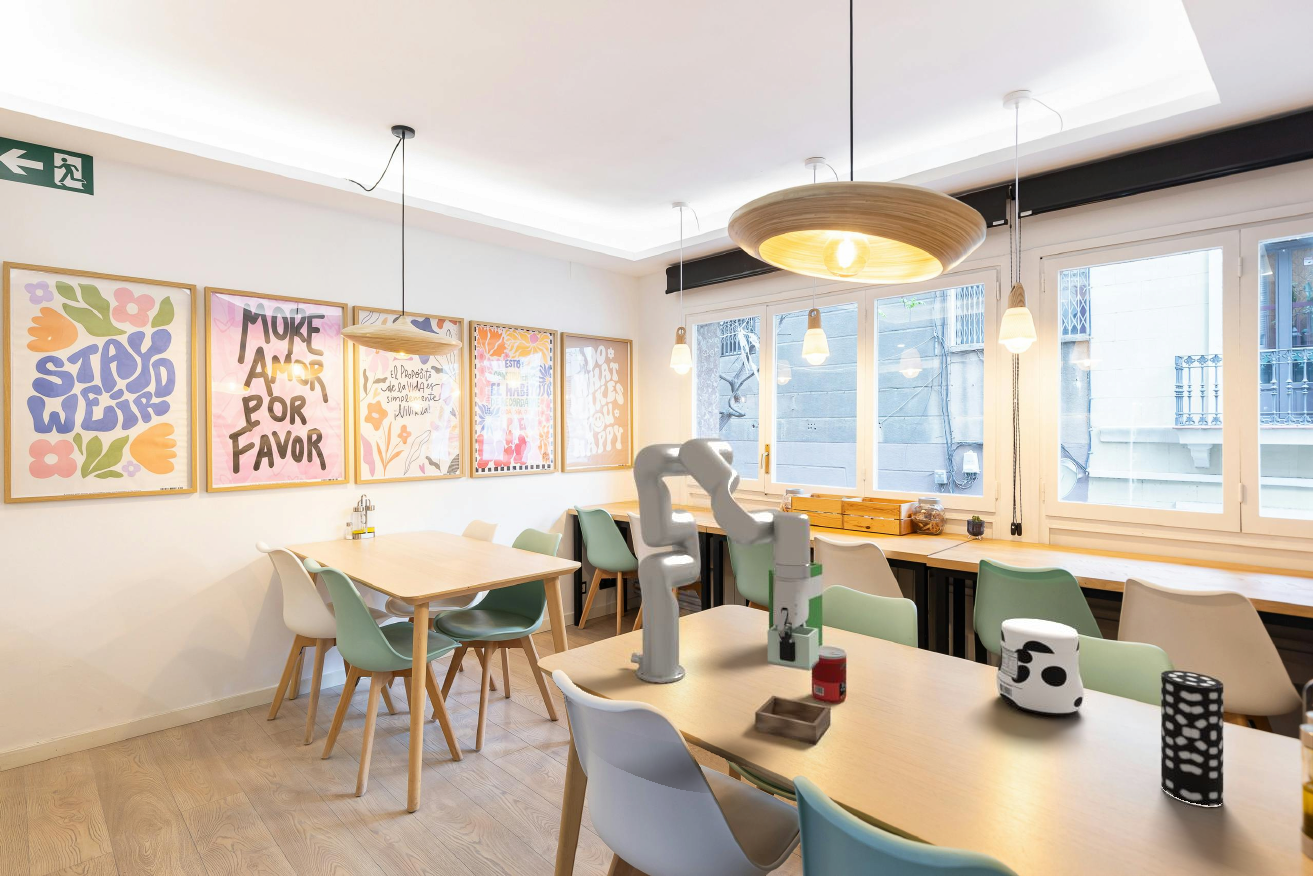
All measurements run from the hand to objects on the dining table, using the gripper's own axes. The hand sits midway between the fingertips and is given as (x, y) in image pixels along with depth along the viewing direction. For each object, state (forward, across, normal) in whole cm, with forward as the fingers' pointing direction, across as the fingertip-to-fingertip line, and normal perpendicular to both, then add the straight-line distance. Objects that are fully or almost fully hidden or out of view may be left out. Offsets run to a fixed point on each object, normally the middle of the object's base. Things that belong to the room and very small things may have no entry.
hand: (793, 654), depth 141 cm
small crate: (+2, 0, 0) cm, 2 cm away
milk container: (+16, -39, +45) cm, 62 cm away
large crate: (+16, 0, 0) cm, 16 cm away
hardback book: (+15, -50, -16) cm, 55 cm away
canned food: (+16, -20, +2) cm, 26 cm away
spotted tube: (+16, -9, +68) cm, 70 cm away
